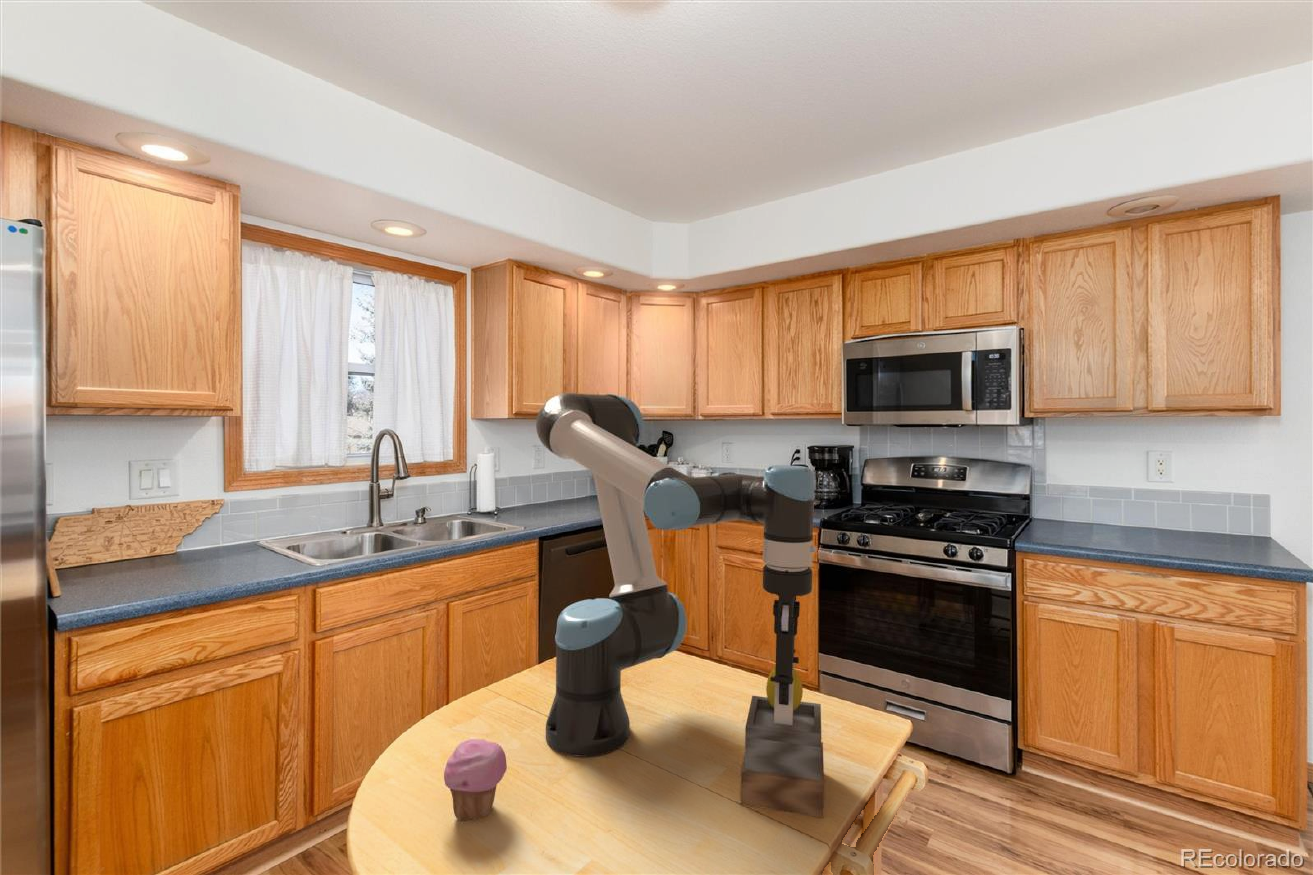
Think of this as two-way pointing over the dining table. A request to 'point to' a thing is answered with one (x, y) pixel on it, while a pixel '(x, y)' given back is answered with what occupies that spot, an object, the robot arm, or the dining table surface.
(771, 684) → the lemon
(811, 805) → the grey storage bin
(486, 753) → the cupcake
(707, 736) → the dining table surface
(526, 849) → the dining table surface
